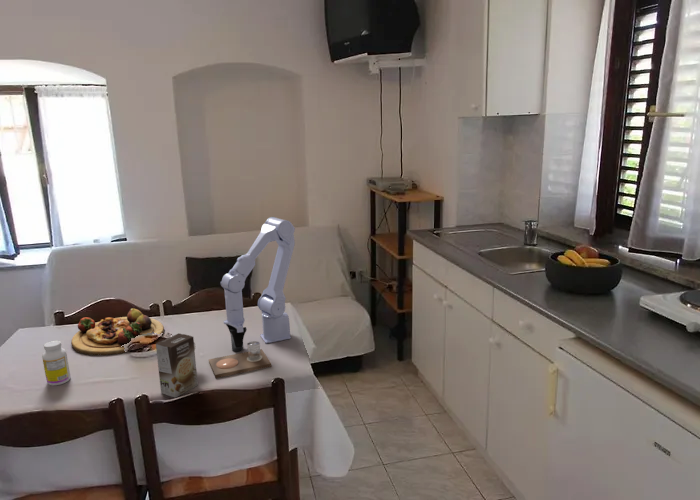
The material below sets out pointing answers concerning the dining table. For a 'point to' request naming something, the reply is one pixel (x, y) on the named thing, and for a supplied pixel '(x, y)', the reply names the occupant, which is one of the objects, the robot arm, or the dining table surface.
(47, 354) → the supplement bottle
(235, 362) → the board
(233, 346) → the steel pin
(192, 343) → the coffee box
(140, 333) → the wooden plate with food
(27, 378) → the dining table surface
